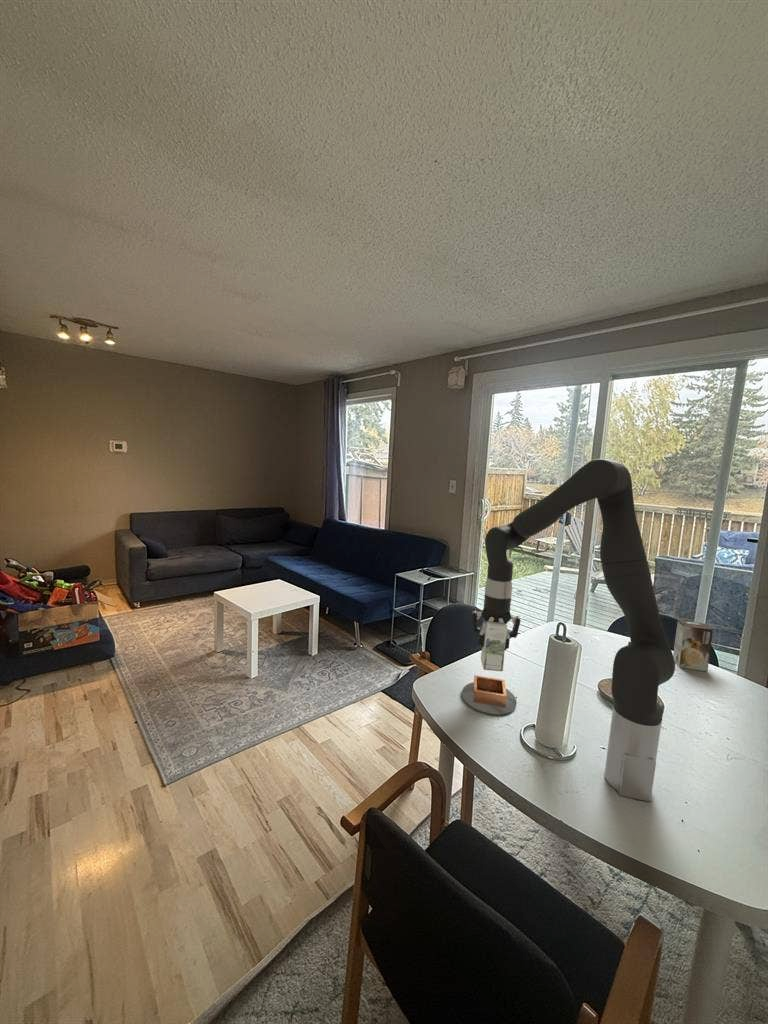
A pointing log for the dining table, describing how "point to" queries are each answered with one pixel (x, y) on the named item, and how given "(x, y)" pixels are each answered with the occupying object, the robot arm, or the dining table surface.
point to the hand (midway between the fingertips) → (493, 647)
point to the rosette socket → (489, 696)
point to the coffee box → (692, 645)
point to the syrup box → (494, 646)
